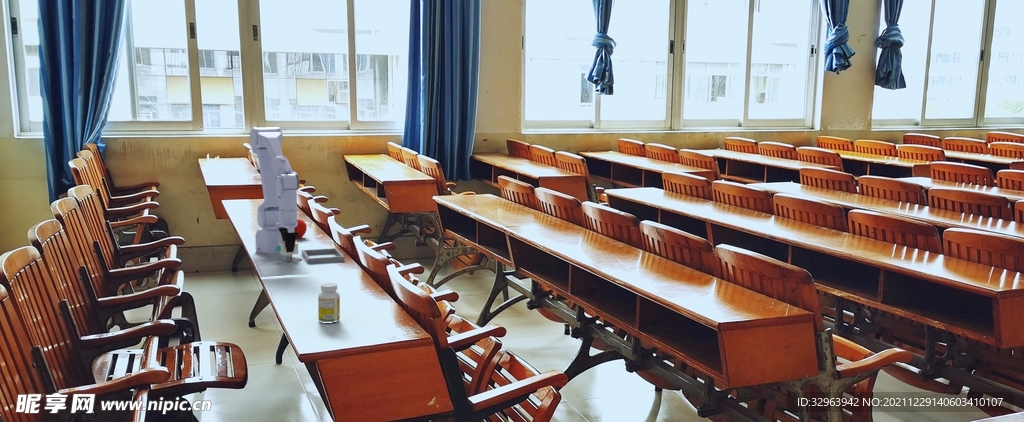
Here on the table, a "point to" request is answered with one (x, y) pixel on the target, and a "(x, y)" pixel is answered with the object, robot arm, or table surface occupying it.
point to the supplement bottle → (329, 303)
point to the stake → (289, 259)
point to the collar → (282, 248)
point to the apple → (301, 228)
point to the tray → (323, 259)
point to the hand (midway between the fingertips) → (288, 250)
